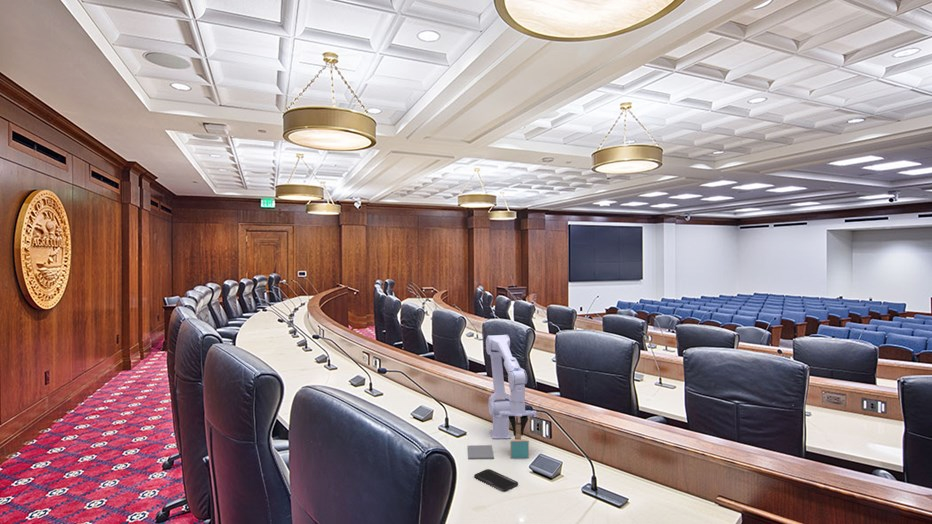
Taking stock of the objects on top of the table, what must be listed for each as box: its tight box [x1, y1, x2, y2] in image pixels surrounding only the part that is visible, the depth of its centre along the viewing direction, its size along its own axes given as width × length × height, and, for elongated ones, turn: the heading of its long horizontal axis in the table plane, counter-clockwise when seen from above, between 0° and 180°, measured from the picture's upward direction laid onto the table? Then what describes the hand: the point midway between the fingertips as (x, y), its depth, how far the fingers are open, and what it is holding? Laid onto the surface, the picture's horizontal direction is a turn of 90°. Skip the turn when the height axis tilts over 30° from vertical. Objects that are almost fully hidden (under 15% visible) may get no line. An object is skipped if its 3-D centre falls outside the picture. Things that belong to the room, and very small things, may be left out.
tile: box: [509, 438, 530, 459], centre depth 175 cm, size 1×7×7 cm, turn 91°
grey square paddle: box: [514, 422, 522, 440], centre depth 178 cm, size 5×5×8 cm
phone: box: [473, 468, 519, 493], centre depth 156 cm, size 8×1×15 cm
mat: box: [467, 444, 495, 460], centre depth 180 cm, size 12×10×1 cm
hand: (518, 434), depth 179 cm, fingers closed on grey square paddle, 2 cm apart
